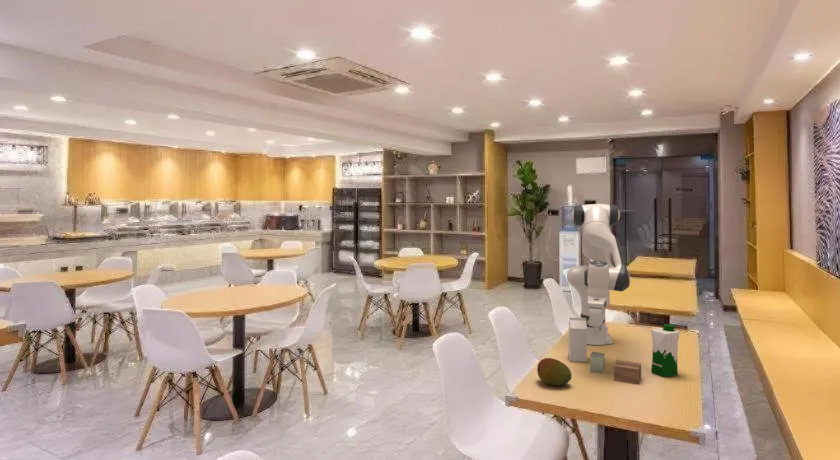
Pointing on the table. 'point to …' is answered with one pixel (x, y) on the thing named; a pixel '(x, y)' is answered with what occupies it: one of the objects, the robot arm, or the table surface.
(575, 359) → the milk carton
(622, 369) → the walnut block
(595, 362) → the grey wooden block
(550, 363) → the fruit
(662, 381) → the table surface
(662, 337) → the soya milk
